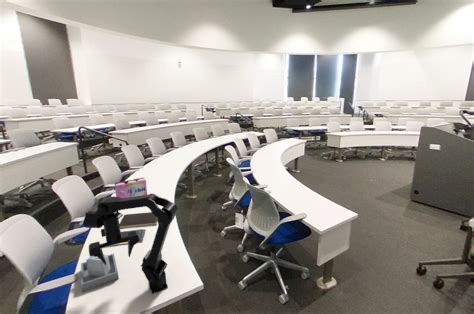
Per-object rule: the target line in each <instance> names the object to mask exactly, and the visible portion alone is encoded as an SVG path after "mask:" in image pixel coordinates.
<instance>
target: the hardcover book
mask: <svg viewBox="0 0 474 314" xmlns="http://www.w3.org/2000/svg"><path fill="white" fill-rule="evenodd" d="M121 218H122V219H121V220H120V221H119V225H120V229H125V228H133V227H143V226H153V225H154V224H156V225H158V221H157V220H158V217H156V216H155V215H154V214H153V213H152V212H151V211H150V212H139V213H127V214H123V216H122V217H121Z"/></svg>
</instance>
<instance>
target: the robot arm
mask: <svg viewBox="0 0 474 314" xmlns="http://www.w3.org/2000/svg"><path fill="white" fill-rule="evenodd" d="M144 207H145V208H148V209H149V211H150V212H152V213H153V214H154V215H155V216H156V217H158V220H157V225H158V226H157V228H156V229H157V230H156V233H155V235H154V239H153V242H152V245H151V248H150V249H149V250H148V251H147V253H146V254H145V255H144V256H143V258H142V263H141V264H140V267H141V271H142V272H143V274H144V276H145V278H146V280H147V284H148V287H149V291H151V294H156V293H158V292H160V291H163V290H165V289H168V288H169V286H168V284H167V277H166V276H167V275H166V274H167V273H166V271H165V269H167V267H168V263H167V262H166V261H165V260H163V254H162V251H163V247H164V244H165V241H166V238H167V235H168V232H169V229H170V226H171V224H172V223H173V220H175V217H176V215H177V214H178V211H179V207H178V205H177V204H176V203H174V202H171V201H170V200H168V199H167V198H163V197H162V196H159V195H157V194H155V193H149V194H147V195H142V196H135V197H128V198H120V197H116V196H109V197H107V198H105V199H103V200H102V201H100V203H98V205H97V209H96V210H95V211H91V210H88V211H86V213H85V216H84V218H83V222H82V225H83V227H84V228H86V229H88V228H89V229H100V233H101V237H102V238H105V241H106V242H104V243H101V242H100V241H95V242H91V243H89V245H88V254H89V257H90V256H94V257H98V258H99V259H101V261H102V262H103V263H104V264H105V265H106V260H105V257H104V255H105V254H104V252H103V249H106V247H107V248H110V247H109V246H113V245H116V244H119V243H123V242H126V241H128V245H127V254H128V258H130V257H131V254H132V251H133V248H134V247H135V245H137V244H138V243H136V242H139V236H138V233H137V231H133V232H130V233H127V235H128V236H127V237H123V238H122V237H121V232H122V231H121V228H120V225H119V224H120V221H119V220H120V218H123V217H124V214H123V213H121V212H119V211H122V210H130V209H136V208H137V209H138V208H144ZM160 207H162V208H160ZM102 227H103V228H102ZM101 228H102V229H101ZM113 247H114V246H113Z"/></svg>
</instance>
